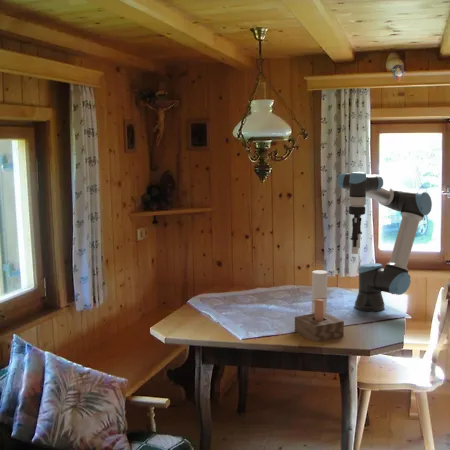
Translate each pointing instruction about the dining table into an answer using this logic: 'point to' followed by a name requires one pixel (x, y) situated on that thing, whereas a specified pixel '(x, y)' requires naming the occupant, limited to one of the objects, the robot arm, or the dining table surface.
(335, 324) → the socket block
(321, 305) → the peg
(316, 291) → the cylindrical container
